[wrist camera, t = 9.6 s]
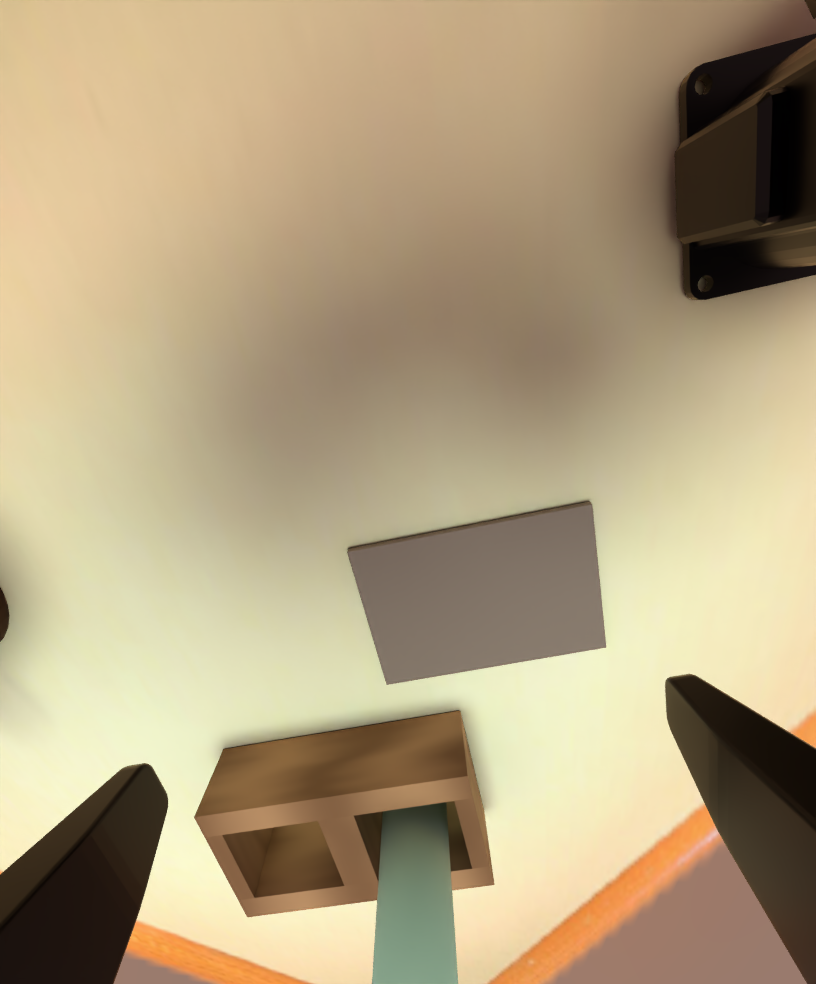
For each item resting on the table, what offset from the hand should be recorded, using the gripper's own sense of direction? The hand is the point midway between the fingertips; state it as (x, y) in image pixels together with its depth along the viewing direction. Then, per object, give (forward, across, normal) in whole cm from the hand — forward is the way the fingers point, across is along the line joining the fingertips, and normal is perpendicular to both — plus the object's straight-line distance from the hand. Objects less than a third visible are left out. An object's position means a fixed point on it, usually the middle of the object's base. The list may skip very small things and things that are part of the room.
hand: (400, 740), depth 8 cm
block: (+12, +6, +15) cm, 20 cm away
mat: (+12, -2, +5) cm, 13 cm away
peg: (+12, +3, +15) cm, 19 cm away
